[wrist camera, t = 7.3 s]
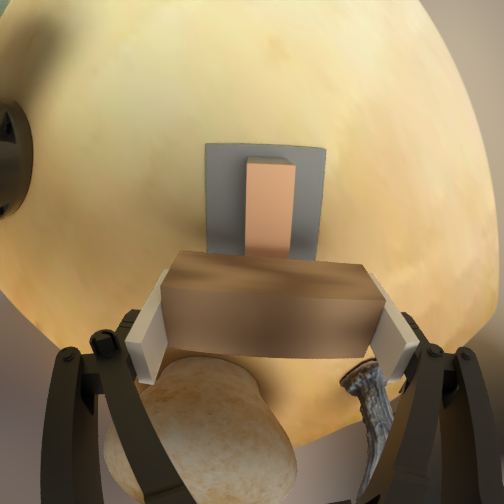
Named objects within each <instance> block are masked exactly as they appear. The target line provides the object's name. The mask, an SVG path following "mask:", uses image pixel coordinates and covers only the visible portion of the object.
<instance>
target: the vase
mask: <svg viewBox="0 0 504 504" xmlns="http://www.w3.org/2000/svg"><path fill="white" fill-rule="evenodd" d="M139 396H140V398H141V401H142V403H143V405H144V407H145V410H146V412H147V414H148V416H149V419H150V421H151V423H152V425H153V427H154V429H155V431H156V433H157V435H158V437H159V439H160V441H161V443H162V445H163V447H164V449H165V451H166V452H167V454H168V456H169V458H170V460H171V462H172V463H173V465H174V467H175V469H176V470H177V472H178V474H179V475H180V477H181V479H182V480H183V482H184V484H185V485H186V487H187V488H188V490H189V492H190V493H191V495H192V496H193V498H194V499H195V501H196V502H197V504H279V503H280V502H281V501H282V500H283V499H284V498H285V497H286V496H287V495H288V494H289V493H290V491H291V490H292V488H293V486H294V484H295V481H296V475H297V463H296V458H295V454H294V451H293V447H292V445H291V442H290V440H289V438H288V436H287V434H286V432H285V431H284V429H283V427H282V426H281V425H280V423H279V422H278V420H277V419H276V417H275V416H274V415H273V413H272V412H271V410H270V409H269V407H268V406H267V405H266V403H265V402H264V400H263V399H262V397H261V395H260V391H259V387H258V384H257V381H256V380H255V379H254V377H253V376H252V375H251V374H250V373H249V372H248V371H246V370H245V369H243V368H242V367H240V366H238V365H236V364H234V363H231V362H229V361H226V360H222V359H218V358H211V357H187V358H182V359H179V360H176V361H174V362H172V363H170V364H169V365H167V366H166V367H165V369H164V370H163V371H162V373H161V375H160V377H159V378H158V380H157V381H156V382H155V383H154V385H151V386H149V387H148V388H147V389H146V390H145V391H143V392H142V393H141V394H140V395H139ZM104 458H105V461H106V464H107V466H108V469H109V471H110V473H111V474H112V476H113V477H114V479H115V480H116V481H117V482H118V484H119V485H120V486H121V487H122V488H123V489H124V490H125V491H126V492H127V493H128V494H129V495H130V496H131V497H133V498H134V499H135V500H136V501H138V502H139V503H140V504H145V502H144V499H143V498H144V495H143V493H142V490H141V488H140V486H139V484H138V482H137V480H136V478H135V476H134V473H133V471H132V469H131V467H130V464H129V462H128V460H127V457H126V455H125V452H124V450H123V447H122V445H121V442H120V440H119V437H118V434H117V431H116V429H115V426H114V423H112V424H111V426H110V428H109V430H108V432H107V436H106V438H105V443H104Z"/></svg>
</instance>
